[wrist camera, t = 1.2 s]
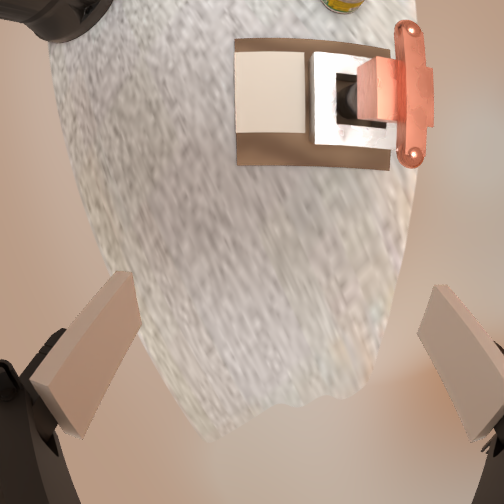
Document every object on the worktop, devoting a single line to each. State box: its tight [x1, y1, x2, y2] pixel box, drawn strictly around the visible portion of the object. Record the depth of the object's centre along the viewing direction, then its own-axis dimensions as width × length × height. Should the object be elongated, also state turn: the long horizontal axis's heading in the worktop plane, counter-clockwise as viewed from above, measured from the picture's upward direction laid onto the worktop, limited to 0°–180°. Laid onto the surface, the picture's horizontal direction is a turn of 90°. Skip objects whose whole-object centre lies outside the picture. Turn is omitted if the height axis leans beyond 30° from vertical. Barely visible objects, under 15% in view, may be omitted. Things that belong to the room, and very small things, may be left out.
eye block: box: [308, 52, 397, 150], centre depth 29 cm, size 10×10×5 cm
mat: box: [234, 51, 305, 133], centre depth 31 cm, size 10×8×1 cm
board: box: [235, 38, 391, 171], centre depth 32 cm, size 16×19×1 cm
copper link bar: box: [336, 20, 434, 169], centre depth 23 cm, size 11×5×18 cm, turn 1°
